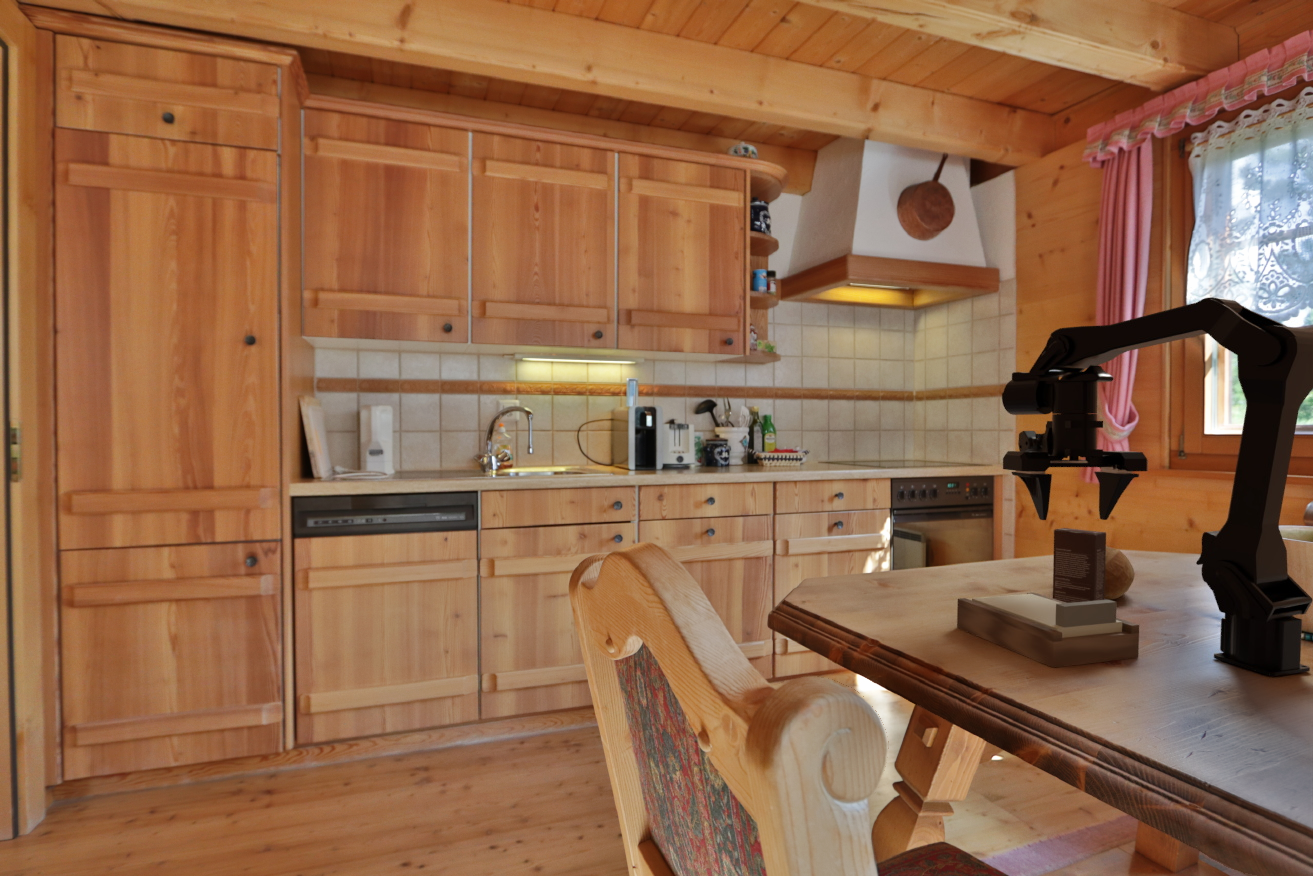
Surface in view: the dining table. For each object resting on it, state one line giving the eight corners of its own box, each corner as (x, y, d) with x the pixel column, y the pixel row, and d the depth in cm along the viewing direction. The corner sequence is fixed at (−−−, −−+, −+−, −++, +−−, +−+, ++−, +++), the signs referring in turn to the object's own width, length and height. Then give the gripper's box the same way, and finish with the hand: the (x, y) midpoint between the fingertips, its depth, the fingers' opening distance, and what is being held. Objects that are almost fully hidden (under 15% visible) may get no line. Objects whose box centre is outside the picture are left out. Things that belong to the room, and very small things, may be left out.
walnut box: (1138, 657, 86) (1139, 624, 86) (1053, 667, 82) (1054, 633, 82) (1032, 620, 101) (1033, 592, 101) (957, 627, 97) (957, 598, 97)
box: (1105, 611, 106) (1107, 531, 106) (1094, 616, 103) (1096, 534, 103) (1062, 602, 111) (1064, 526, 111) (1050, 607, 108) (1052, 529, 108)
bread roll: (1068, 600, 113) (1069, 550, 113) (1062, 581, 126) (1063, 536, 126) (1140, 608, 109) (1142, 556, 108) (1126, 587, 122) (1128, 541, 122)
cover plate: (1121, 631, 86) (1122, 601, 86) (1056, 638, 83) (1057, 607, 83) (1030, 602, 99) (1031, 576, 99) (971, 607, 97) (972, 580, 96)
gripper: (1099, 415, 113) (1098, 512, 113) (984, 414, 112) (983, 513, 112) (1151, 413, 101) (1149, 522, 102) (1024, 413, 101) (1023, 523, 101)
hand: (1073, 519), depth 104 cm, fingers open, 9 cm apart
